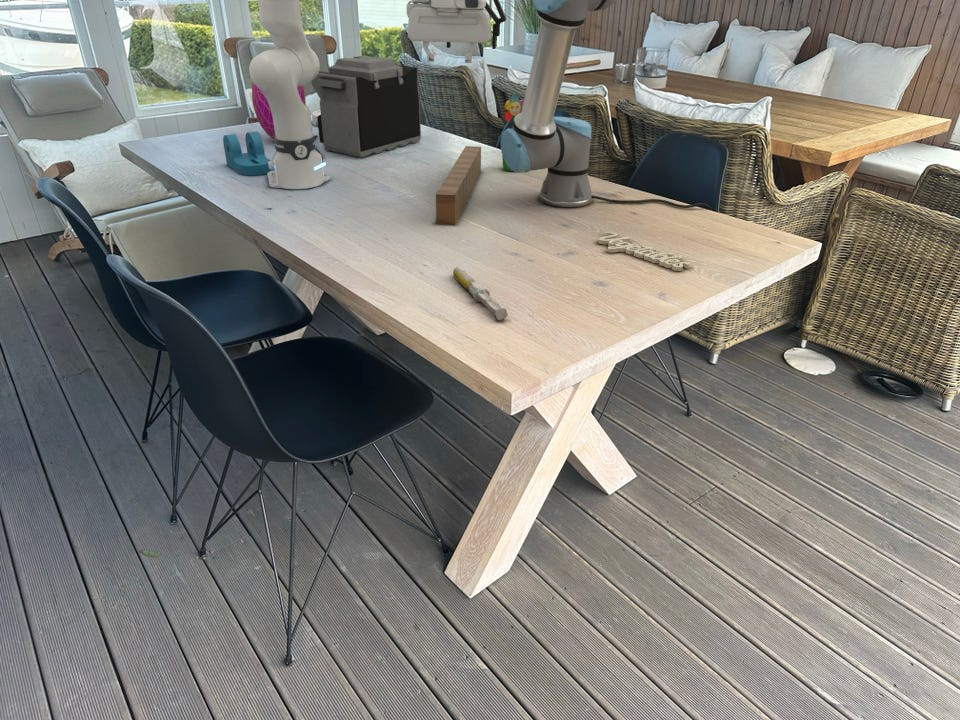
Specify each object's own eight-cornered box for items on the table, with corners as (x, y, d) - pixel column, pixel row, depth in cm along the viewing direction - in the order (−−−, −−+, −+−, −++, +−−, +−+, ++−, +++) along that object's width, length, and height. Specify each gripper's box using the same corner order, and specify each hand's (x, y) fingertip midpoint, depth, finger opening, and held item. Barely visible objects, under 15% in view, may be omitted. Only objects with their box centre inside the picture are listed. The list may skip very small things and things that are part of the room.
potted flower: (506, 173, 227) (508, 93, 214) (495, 167, 233) (496, 89, 220) (530, 170, 231) (534, 91, 218) (519, 164, 237) (522, 87, 224)
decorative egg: (293, 132, 276) (283, 50, 261) (319, 140, 264) (310, 56, 249) (249, 139, 265) (236, 54, 250) (273, 148, 253) (261, 60, 238)
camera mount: (227, 164, 233) (221, 132, 227) (257, 160, 238) (252, 129, 233) (244, 176, 220) (239, 143, 215) (276, 172, 225) (271, 139, 220)
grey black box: (383, 133, 276) (378, 52, 261) (425, 141, 265) (422, 56, 250) (314, 150, 251) (304, 61, 235) (358, 160, 240) (350, 67, 224)
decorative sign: (584, 239, 172) (609, 230, 178) (583, 243, 172) (609, 234, 178) (672, 271, 155) (697, 260, 161) (671, 275, 156) (696, 264, 161)
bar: (465, 170, 230) (465, 146, 226) (480, 171, 229) (481, 146, 225) (436, 224, 184) (435, 194, 180) (455, 225, 184) (455, 195, 179)
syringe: (449, 274, 155) (449, 263, 153) (465, 272, 156) (464, 260, 154) (490, 323, 135) (491, 310, 133) (508, 319, 136) (508, 307, 134)
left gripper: (403, -2, 161) (405, 62, 168) (489, 0, 159) (488, 65, 166) (408, -3, 167) (411, 59, 174) (492, -1, 165) (491, 61, 172)
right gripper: (425, -35, 191) (427, 48, 202) (514, -34, 188) (512, 50, 199) (430, -36, 197) (432, 45, 208) (516, -35, 195) (514, 47, 205)
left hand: (449, 62), depth 170 cm, fingers open, 8 cm apart
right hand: (471, 48), depth 204 cm, fingers open, 13 cm apart
